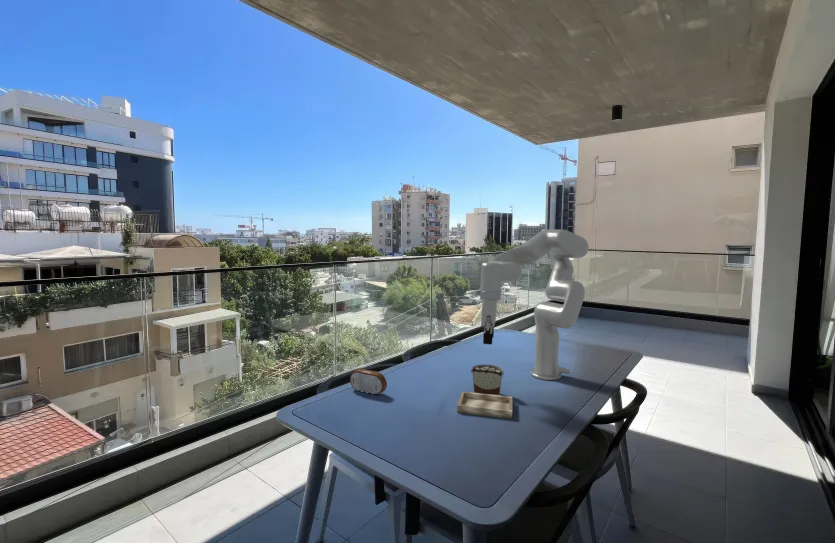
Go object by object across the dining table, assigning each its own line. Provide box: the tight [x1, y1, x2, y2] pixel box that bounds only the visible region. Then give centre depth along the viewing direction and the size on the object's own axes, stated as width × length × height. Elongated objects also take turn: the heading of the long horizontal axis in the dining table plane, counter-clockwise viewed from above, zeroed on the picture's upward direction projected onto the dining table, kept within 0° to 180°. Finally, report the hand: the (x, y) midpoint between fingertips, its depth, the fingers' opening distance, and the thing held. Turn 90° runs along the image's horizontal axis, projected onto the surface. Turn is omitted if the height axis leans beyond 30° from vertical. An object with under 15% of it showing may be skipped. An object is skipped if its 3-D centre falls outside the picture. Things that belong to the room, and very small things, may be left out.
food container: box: [470, 363, 505, 396], centre depth 148 cm, size 12×6×10 cm, turn 71°
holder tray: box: [456, 391, 513, 420], centre depth 134 cm, size 18×12×2 cm, turn 76°
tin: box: [349, 368, 388, 396], centre depth 146 cm, size 15×3×8 cm, turn 65°
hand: (488, 340), depth 146 cm, fingers open, 9 cm apart
